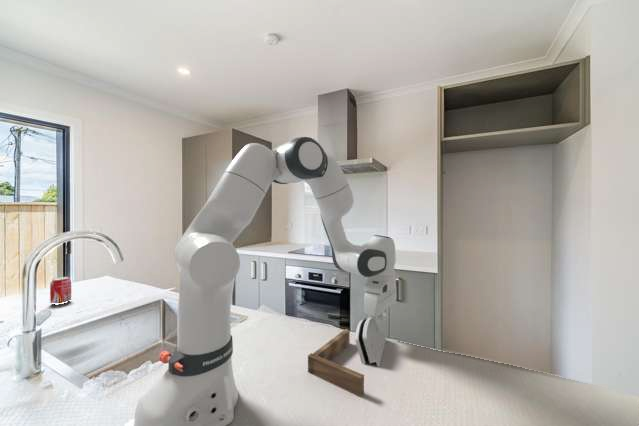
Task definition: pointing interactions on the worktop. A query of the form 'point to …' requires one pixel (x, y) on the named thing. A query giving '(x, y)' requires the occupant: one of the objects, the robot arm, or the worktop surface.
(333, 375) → the wooden corner bracket
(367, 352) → the white black-banded slab
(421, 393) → the worktop surface
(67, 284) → the soda can
